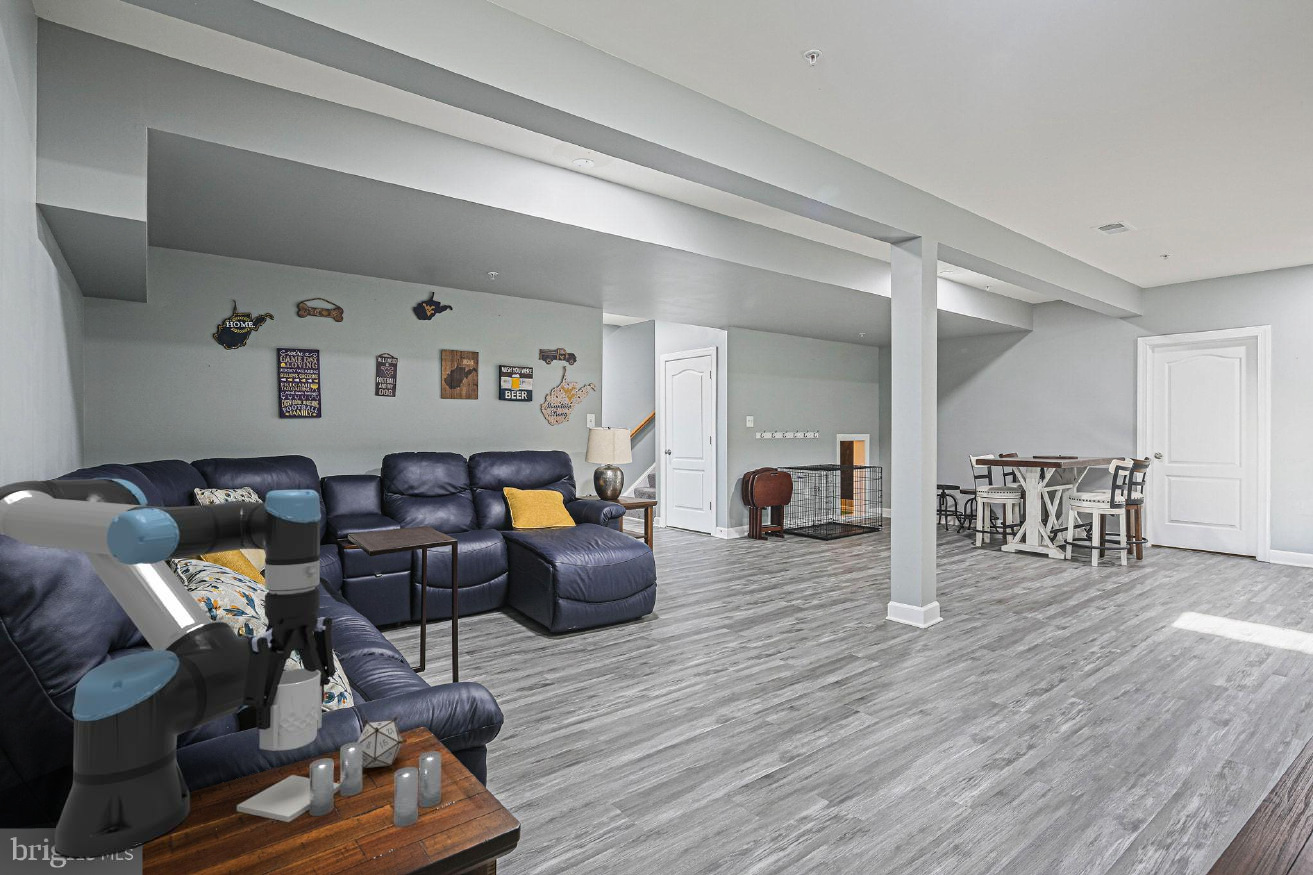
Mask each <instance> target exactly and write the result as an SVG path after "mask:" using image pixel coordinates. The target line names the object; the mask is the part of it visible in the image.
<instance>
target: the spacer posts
mask: <svg viewBox="0 0 1313 875" xmlns="http://www.w3.org/2000/svg"><path fill="white" fill-rule="evenodd" d="M339 755H340V760H339V761H340V762H339V763H340V765H339V766H340V768H339V769H340V770H339V771H340V772H339V773H340V774H339V778H340V779H339V784H340V790H339V794H340V796H342V797H353V796H355V795H358V794H359V793H361V792H362V791H363V772H362V768H363V765H362V763H363V744H362V743H360V742H357V741H353V742H347V743H346V744H343V745H342V746H341V747H340V754H339ZM334 767H335V765H334V759H333V758H328V757H327V758H326V757H325V758H320V759H316V760H314V761H312V762H310V764H309V778H310V803H309V810H308V811H309V815H310V816H312V817H322V816H325V815H328V814H330V813H331V812H333V810H334V794H333V784H334V783H335V782H334V781H335V780H334V770H335V769H334ZM393 775H394V777H393V778H394V783H393V784H394V788H393V789H394V791H393V792H394V800H393V801H394V804H393V807H394V808H393V811H394V812H393V814H394V815H393V816H394V818H393V823H394V825H395V826H396V827H399V828H403V827H404V828H405V827H410V826H412V825H414V824H415V823H417V821H418V819H419V818H418V817H419V815H418V814H419V812H418V811H419V808H418V806H419V807H421V808H433V807H435V806H437V805H438V806H439V804H440V803H441V802H442V753H441V752H440V751H437V750H431V751H426V752H423V753H421V754H420V755H418V768H417V767H415V766H406V767H402V768H399V769H397V770H396V771H395V772H394V774H393Z"/></svg>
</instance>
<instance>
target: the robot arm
mask: <svg viewBox="0 0 1313 875" xmlns="http://www.w3.org/2000/svg"><path fill="white" fill-rule="evenodd" d="M321 519H322V513H321V504H320V495H319V493H318V492H317V491H316V490H314V489H281V490H280V489H279V490H278V489H277V490H270V491H268V492H267V493H266V495H265V502H262V501H261V502H259V501H244V500H227V501H221V502H220V501H219V502H218V503H212V504H198V505H197V504H196V505H191V506H189V505H188V506H165V507H164V506H153V505H148V499H147V498H146V495H145V494H144V492H143V491H142V490H141V489H140V488H139V486H137V485H136V484H135V483H133V482H131V481H129V480H126V479H120V478H109V477H95V478H90V479H89V478H88V479H85V478H84V479H55V480H49V479H48V480H47V479H46V480H25V481H18V482H13V483H10V484H5V485H3V486H1V487H0V534H1V535H6V536H9V537H11V538H13V539H15V540H17V541H19V542H22V543H24V544H27V545H31V546H38V547H47V548H46V549H58V550H65V551H66V550H73V551H82V552H85V553H86V554H87V556H88V558H89V559H90V561H91V563H92V565H93V567H94V569H95V570H94V569H93V570H94V572H95V571H96V572H97V573H96V572H95V573H96V574H97V576H98V575H99V578H100V580H101V581H102V582H103V583H104V585H105V586H106V587H107V589H108V590H109V591H110V593H111V594H112V596H113V597H114V599H115V600H116V601H117V602H118V604H119V605H120V606H121V607H122V609H123V610H124V612H125V613H126V615H127V616H128V617H129V618H130V620H131V621H132V623H133V624H134V625H135V626H136V628H137V629H138V630H139V632H140V633H141V635H142V636H143V637H144V639H145V640H146V641H147V643H148V644H149V645H150V647H151V648H152V649H153V650H148V651H142V652H140V653H136V654H133V653H132V654H129V655H124V656H121V657H118V658H116V659H115V658H114V659H112V660H109V661H107V662H105V663H102V664H100V665H98V666H96V667H94V668H92V669H91V670H89V671H88V672H86V673H85V674H84V675H83V676H82V678H81V679H80V680H79V681H78V683H77V685H76V688H75V694H74V701H73V706H72V717H73V762H72V763H73V764H72V766H73V768H72V769H73V773H72V774H73V776H72V779H73V780H72V786H71V789H70V791H69V794H68V797H67V798H66V801H65V804H64V807H63V809H62V811H61V815H60V818H59V819H58V822H57V824H56V827H55V831H54V848H55V851H56V852H57V853H59V854H61V855H63V856H67V857H74V858H76V857H77V858H80V857H81V858H83V857H84V858H85V857H86V858H87V857H96V856H103V855H107V854H108V855H109V854H113V853H117V852H121V851H124V850H128V849H131V848H134V847H133V846H134V845H136V844H139V843H143V842H145V843H148V842H150V841H152V840H155V839H156V838H159V837H161V836H162V835H165V834H166V833H168V832H170V831H172V830H173V829H175V828H176V827H178V826H179V825H180V824H181V823H183V821H184V820H186V818H187V817H188V816H189V813H190V812H191V811H190V809H191V807H190V806H191V795H190V794H191V793H190V791H189V789H188V786H187V783H186V781H185V778H184V777H183V773H182V772H181V768H180V766H179V764H178V761H177V740H178V735H181V734H183V733H186V732H189V731H191V730H194V729H196V728H199V727H202V726H204V725H207V724H210V723H212V722H215V721H217V720H219V719H223V718H224V717H227V716H230V715H236V714H237V713H239V712H241V711H243V710H244V709H245V708H248V707H251V708H252V707H253V708H256V714H255V715H256V717H255V718H256V719H255V720H256V721H255V722H256V724H255V725H256V729H257V730H259V749H260V750H264V751H265V750H267V751H272V752H275V751H277V750H276V749H278V705H277V704H273V702H274V699H275V696H276V693H277V689H278V685H279V683H280V680H281V676H282V673H283V671H285V666H286V663H287V661H288V660H289V659H290V657H291V656H292V652H294V651H295V650H296V651H297V653H298V655H299V658H300V661H301V664H302V666H303V668H304V669H306V670H307V671H310V672H314V671H316V670H319V671H320V672H321V678H320V697H319V709H318V720H317V730H319V729H321V728H322V727H323V726H322V724H323V723H322V720H323V718H322V717H323V716H322V715H323V714H322V712H323V710H322V708H323V706H322V705H323V704H324V701H325V686H328V685H329V684H330V683H331V678H333V677H334V676H335V675H336V674H335V673H336V668H335V661H334V660H335V659H334V652H333V651H334V650H333V643H332V635H331V634H332V633H331V630H332V624H333V618H331V617H324V616H317V613H319V611H320V607H321V606H320V603H321V600H320V598H321V597H320V596H321V592H320V591H321V590H320V589H319V588H318V587H317V586H318V585H319V584H320V581H321V580H320V578H321V576H320V574H321V572H320V570H321V569H320V567H321V566H320V563H321V562H320V560H321V555H320V554H321V550H320V548H321ZM238 550H263V551H265V557H264V566H265V567H264V589H265V590H266V591H268V592H266V594H265V595H264V615H265V617H266V619H267V622H268V623H267V625H266V629H265V632H264V633H261V634H260V635H254V634H253V635H252V634H243V635H240V636H238V635H237V633H236V632H235V631H234V630H233V629H232V627H231V625H229V624H228V623H227V622H226V621H222V620H211V618H210V617H209V616H208V614H207V613H206V611H204V609H203V608H202V607H201V606H200V604H199V603H198V602H197V600H195V598H194V596H193V595H192V594H191V592H189V591H188V589H187V588H186V586H185V585H184V584H183V583H182V581H181V580H180V579H179V578H178V577H177V575H176V573H174V571H173V570H172V569H171V567H169V565H168V564H167V562H166V561H171V560H176V559H182V558H190V557H194V556H195V557H196V556H203V555H204V556H205V555H210V554H219V553H224V552H232V551H238ZM265 696H266V698H264V697H265ZM147 841H148V842H147ZM143 844H144V843H143Z"/></svg>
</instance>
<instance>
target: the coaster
mask: <svg viewBox="0 0 1313 875" xmlns="http://www.w3.org/2000/svg"><path fill="white" fill-rule="evenodd" d="M338 792H340V783H337V782H334V784H333V795H335V794H337V793H338ZM309 803H310V777H305V776H300V775H295V774H291V775H290V776H288V777H286V778H284V779H283V780H280V781H279V782H277V783H275V784H273V785H271V786H269V787H268V788H266V789H265V790H263V791H261V792H259V793H257V794H255V795H253V796H252V797H250V798H248V799H246V800H244V801H243V802H240V803H238V804H237V805H236V812H239V813H243V814H248V815H253V816H258V817H263V818H266V819H267V818H268V819H272V820H277V821H281V822H285V823H290V822H291V821H293V820H295V819H297V818H298V817H299V816H301V815H302V814H304V813H305V812H308V811H309Z"/></svg>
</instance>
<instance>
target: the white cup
mask: <svg viewBox="0 0 1313 875" xmlns="http://www.w3.org/2000/svg"><path fill="white" fill-rule="evenodd" d="M320 678H321V672H320V671H319V670H316V671H314V672H310V671H307V670H306V669H304V667H303V668H293V669H288V670H283V673H282V676H281V680H280V683H279V685H278V689H277V693H276V696H275V699H274V702H273V704H277V705H278V749H276V750H275V751H288V750H294V749H299V748H302V747H305V746H307V745H309V744H310V743H312V742H314V741H315V739H316V738H317V735H318V729H317V720H318V709H319V697H320ZM264 698H266V696H265V697H264Z"/></svg>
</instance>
